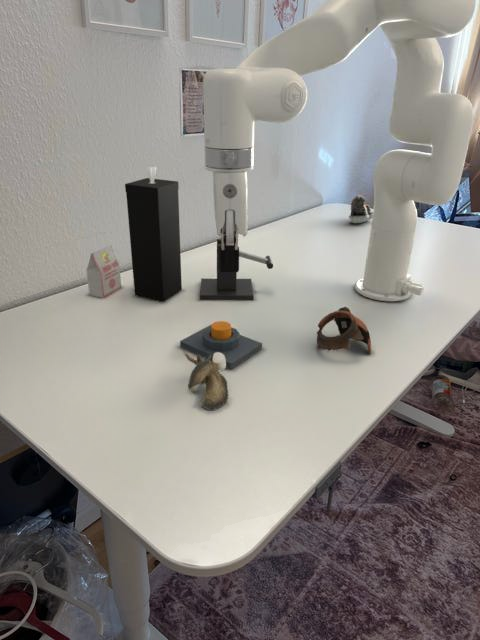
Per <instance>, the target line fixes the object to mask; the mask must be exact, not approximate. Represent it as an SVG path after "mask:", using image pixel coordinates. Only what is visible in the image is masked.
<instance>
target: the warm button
mask: <svg viewBox="0 0 480 640" xmlns="http://www.w3.org/2000/svg"><path fill="white" fill-rule="evenodd" d="M211 324H212V325H211ZM211 324H210V325H211V336H212V338H214V339H220V340H224V339H228V338H230V337H231V327H232V324H231V323H230V322H228V321H224V320H220V321H219V320H218V321H214V322H213V323H211Z"/></svg>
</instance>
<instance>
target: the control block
mask: <svg viewBox="0 0 480 640" xmlns="http://www.w3.org/2000/svg"><path fill="white" fill-rule="evenodd" d="M212 324H213V323H211V324H210V325H208V326H206V327H204V328H202V329H200V330H198V331H196V332H194V333H192V334H190V335H189V336H187V337H185V338H182V339H181V340H179V346H180V347H179V348H181V349H184V350H186V351H188V352H191V353H193V354H195V355H197V356H198V355H200V357H201V358H204V359H205V360H206V359H208V357H209V355H211V358H210V362H212V358H213V354H214V353H215V352H220V353H222V354H223V355H225V359H226V368H227V369H228V370H233V369H235V368H236V367H237V366H239V365H241V364H242V363H244V362H245V361H247V360H248V359H249V358H251V357H253V356H254V355H256V354H258V353H259V352H260V351H262V350H263V343H262V342H260V341H258V340H255V339H253V338H249V337H247V336H245V335H243V334H240V331H238V329H237V328H235V327H232V326H231V337H230V338H228V339H224V340H220V339H214V338H212V336H211V325H212ZM226 368H225V369H226Z"/></svg>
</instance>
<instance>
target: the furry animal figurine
mask: <svg viewBox="0 0 480 640" xmlns="http://www.w3.org/2000/svg"><path fill="white" fill-rule="evenodd" d="M184 356H185V358H186V359H187V360H188V361H189V362H191V363H192V364H194V365H195V366H194V368H193V369H192V371H191V373H190V376H189V380H188V384H187V388H188V390H191V389H192V393H194V392H195V391H199V389H200V388H201V387H202V386H203V385H204V384H205V391H204V395H203V398H202V400H201V404H200V406H201V407H203V409H204V410H205V409H207V411H213V412H214V411H215V410H218V409H219V408H221V407H223V406H224V405H225V404H226V403H227V401H228V398H229V390H228V381H227V379H226V377H225V376H224V375H223V374H222V373H221V372H220V371H223V370H225V369H226V359H225V355H223V354H222V353H220V352H215V353H214V354H213V358H212V361H210V358H211V355H209V357H208V359H206V358H205V359H204V360H202V357H201V356H200V355H197V356H196V359H195V358H193V357H192V356H190V355H189V354H188V353H186V352H184Z"/></svg>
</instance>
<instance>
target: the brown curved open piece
mask: <svg viewBox="0 0 480 640" xmlns="http://www.w3.org/2000/svg"><path fill="white" fill-rule="evenodd" d="M332 321H334V323H335V324H336V326H337V329H338V332H339V334H338V335H336V336H334V335H333V336H328V335H325V334H323V332H322V331H323V329H324V328H325V326H327V324H329V323H331V322H332ZM317 327H318V330H317V331H316V345H317V347H318V348H319V349H323V350H325V351H338V350H346V351H351V349H350V348H351V347H350V340H352V341H354V342H360V343H363V344H365V345H366V348H367V353H368V355H371V354H372V340H371V336H370V331H369V329H368V327H367V325H366V323H365V322H364V321H363V320H362V319H360V318H359V317H357V316H355V315H354V314H353V313H352V312H351V310H350V308H349V307H347V306H343V307H340V308H339V309H338V310H337V311H333V312H330V313H328V314H327V315H325V316H323V317H322V319H321V320H320V321H319V322H318V323H317Z"/></svg>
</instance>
